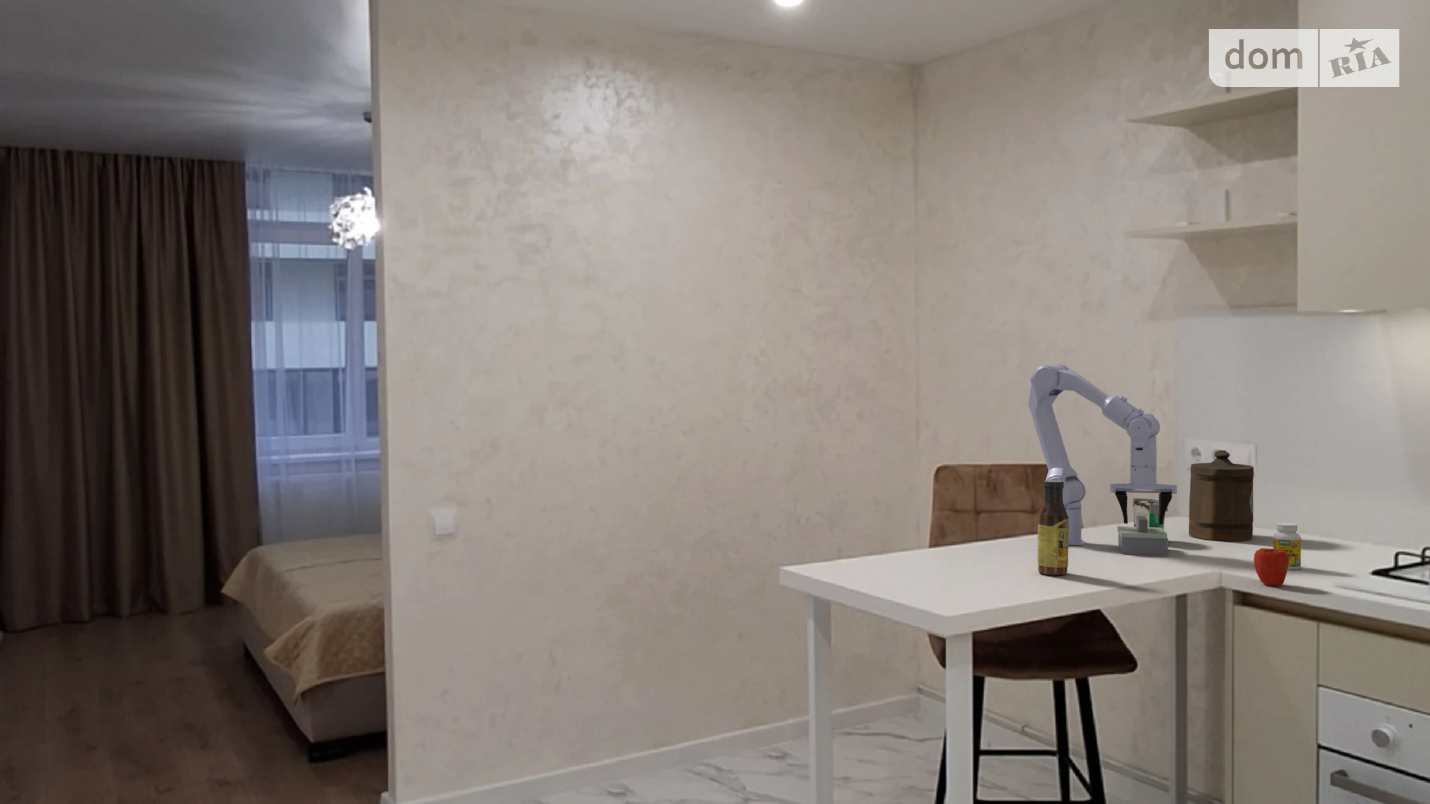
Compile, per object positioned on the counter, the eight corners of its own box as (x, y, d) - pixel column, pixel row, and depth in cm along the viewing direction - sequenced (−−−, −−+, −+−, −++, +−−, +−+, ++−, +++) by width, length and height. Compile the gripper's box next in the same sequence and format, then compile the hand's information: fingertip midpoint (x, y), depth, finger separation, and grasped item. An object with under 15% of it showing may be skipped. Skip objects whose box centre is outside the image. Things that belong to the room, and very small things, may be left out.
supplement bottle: (1298, 566, 242) (1298, 522, 242) (1303, 570, 237) (1303, 526, 237) (1270, 564, 244) (1271, 521, 243) (1275, 569, 239) (1275, 525, 238)
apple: (1246, 583, 225) (1247, 547, 224) (1268, 580, 227) (1268, 544, 227) (1273, 589, 219) (1274, 552, 219) (1295, 586, 222) (1296, 549, 221)
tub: (1121, 554, 258) (1121, 537, 258) (1118, 546, 268) (1118, 530, 267) (1167, 555, 255) (1168, 538, 255) (1162, 548, 265) (1162, 531, 265)
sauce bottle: (1063, 577, 232) (1064, 483, 231) (1033, 574, 235) (1034, 481, 234) (1071, 572, 237) (1072, 480, 237) (1042, 569, 241) (1042, 478, 240)
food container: (1175, 545, 269) (1176, 504, 268) (1150, 545, 269) (1150, 504, 268) (1156, 537, 281) (1157, 497, 280) (1132, 537, 281) (1132, 498, 281)
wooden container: (1266, 539, 276) (1267, 451, 275) (1217, 543, 272) (1218, 453, 271) (1223, 530, 290) (1224, 447, 289) (1175, 533, 286) (1176, 448, 285)
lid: (1121, 540, 258) (1121, 520, 257) (1117, 533, 267) (1117, 513, 267) (1167, 542, 255) (1167, 521, 255) (1161, 535, 265) (1162, 515, 264)
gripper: (1111, 467, 259) (1111, 525, 259) (1178, 468, 255) (1178, 527, 255) (1109, 464, 265) (1109, 520, 266) (1174, 465, 262) (1174, 522, 262)
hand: (1143, 523), depth 261 cm, fingers open, 7 cm apart
